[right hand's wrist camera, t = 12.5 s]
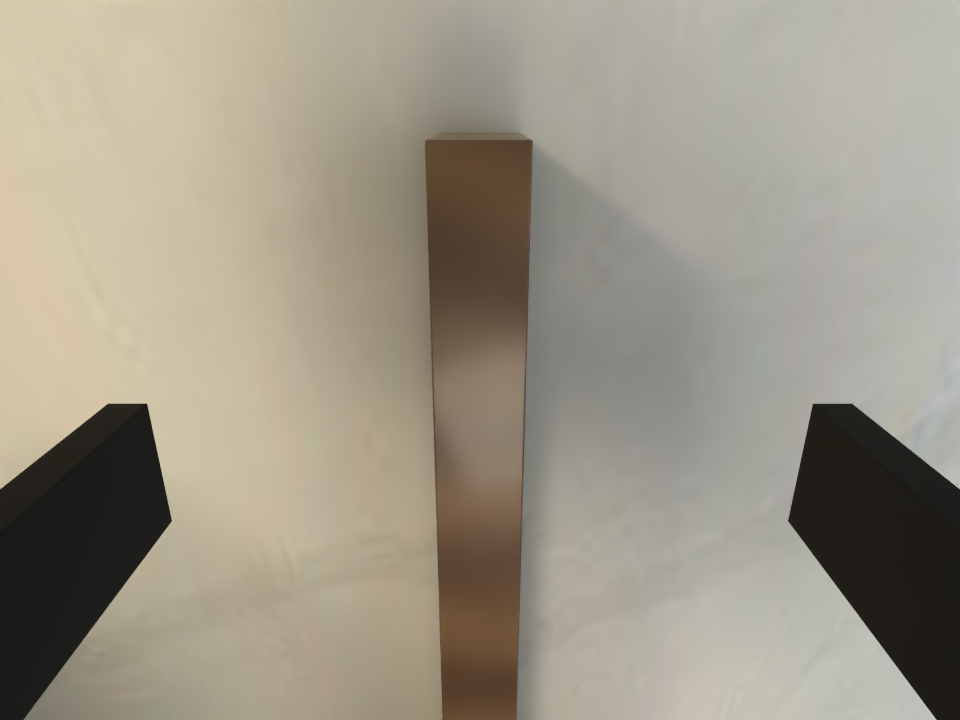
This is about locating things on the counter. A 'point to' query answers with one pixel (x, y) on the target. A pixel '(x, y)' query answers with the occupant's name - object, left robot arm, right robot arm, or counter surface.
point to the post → (479, 408)
